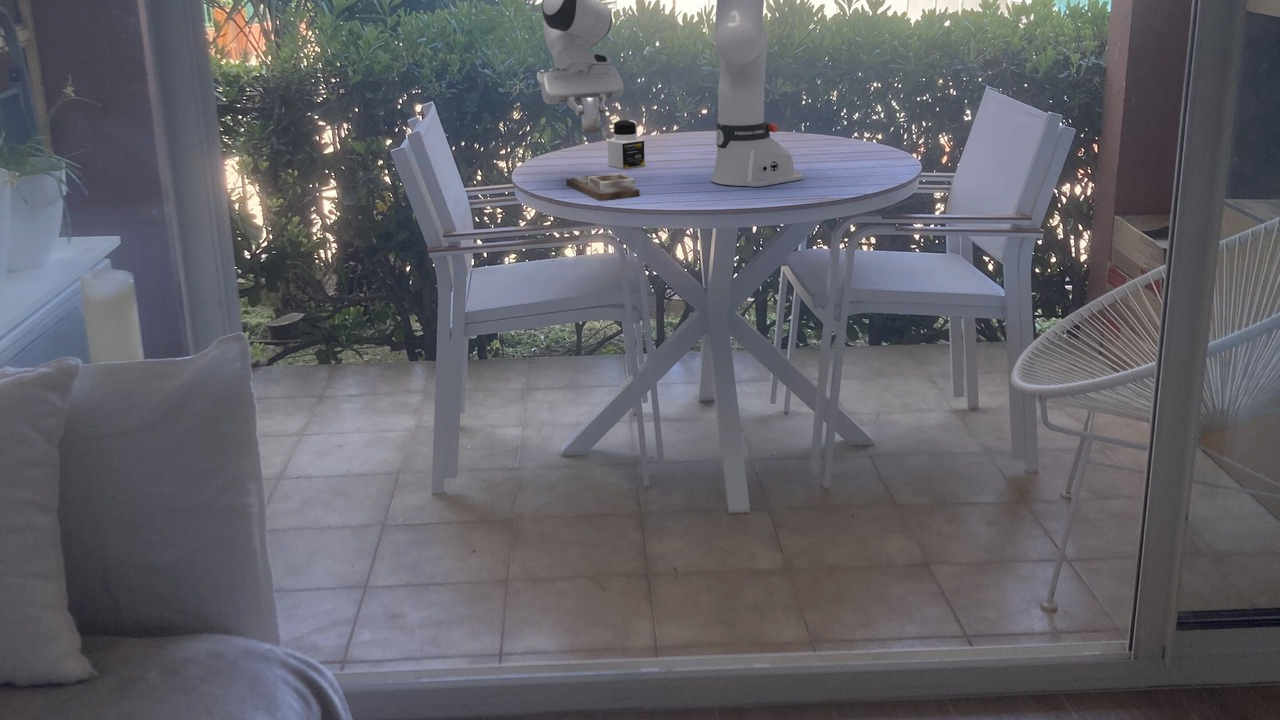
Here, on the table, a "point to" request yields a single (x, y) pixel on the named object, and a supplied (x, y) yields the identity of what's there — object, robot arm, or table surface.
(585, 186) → the board
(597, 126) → the aluminium barrel nut
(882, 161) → the table surface
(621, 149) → the medicine bottle
